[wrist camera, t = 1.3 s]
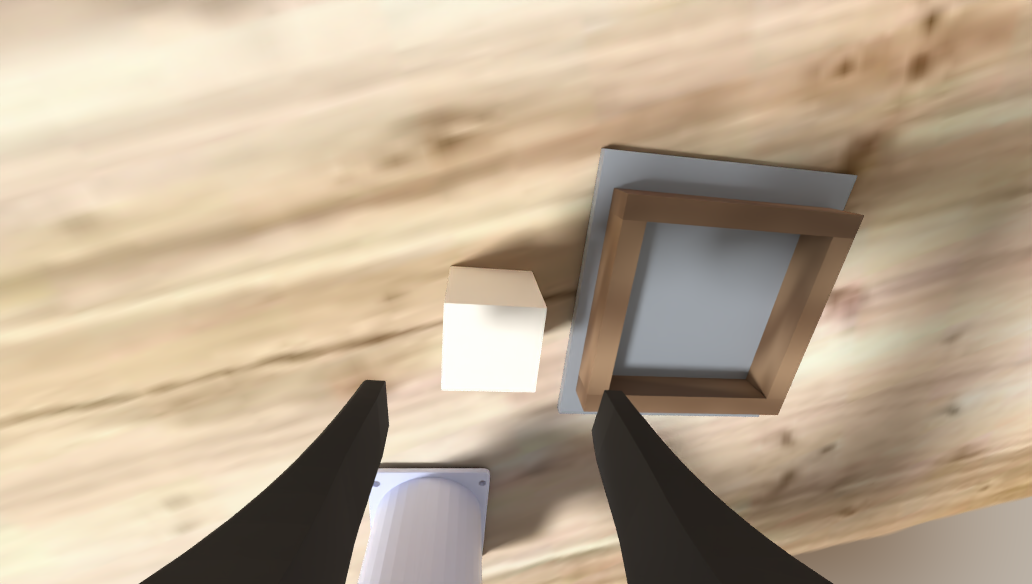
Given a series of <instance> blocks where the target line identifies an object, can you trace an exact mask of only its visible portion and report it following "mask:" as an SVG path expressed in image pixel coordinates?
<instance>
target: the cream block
mask: <svg viewBox="0 0 1032 584" xmlns="http://www.w3.org/2000/svg"><path fill="white" fill-rule="evenodd" d="M546 312H547V307H546V304H545V302H544V299H543V297H542V294H541V292H540V290H539V287H538V285H537V282H536V280H535V277H534V275H533V272H532V271H523V270H507V269H491V268H475V267H459V266H450V271H449V277H448V283H447V289H446V294H445V300H444V318H443V347H442V376H441V390H454V391H499V392H535V390H536V383H537V376H538V369H539V362H540V354H541V347H542V340H543V333H544V326H545V319H546Z"/></svg>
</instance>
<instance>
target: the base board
mask: <svg viewBox="0 0 1032 584" xmlns="http://www.w3.org/2000/svg"><path fill="white" fill-rule="evenodd" d="M856 178H857V175H849V174H840V173H831V172H821V171H812V170H802V169H793V168H784V167H774V166H765V165H755V164H746V163H737V162H727V161H718V160H708V159H699V158H690V157H680V156H671V155H661V154H652V153H643V152H633V151H624V150H614V149H605V148H602V149H601V154H600V160H599V166H598V172H597V178H596V184H595V190H594V195H593V201H592V207H591V213H590V219H589V225H588V230H587V236H586V242H585V248H584V254H583V260H582V266H581V271H580V277H579V283H578V289H577V295H576V301H575V307H574V312H573V318H572V324H571V330H570V336H569V342H568V347H567V353H566V359H565V365H564V371H563V377H562V383H561V388H560V394H559V400H558V406H557V408H558V412H559V413H562V414H597V412H584V411H583V408H582V406H581V403H580V400H579V398H578V395H577V393H576V386H577V380H578V375H579V370H580V365H581V359H582V354H583V349H584V343H585V338H586V333H587V327H588V322H589V317H590V312H591V306H592V301H593V296H594V290H595V285H596V280H597V274H598V269H599V264H600V259H601V253H602V248H603V243H604V237H605V232H606V227H607V221H608V216H609V211H610V206H611V200H612V195H613V190H614V188H621V189H632V190H642V191H653V192H664V193H674V194H685V195H696V196H707V197H717V198H728V199H739V200H749V201H760V202H771V203H781V204H792V205H803V206H814V207H824V208H833V209H837V210H842V211H843V210H844V207H845V205H846V203H847V200H848V198H849V195H850V193H851V190H852V188H853V186H854V183H855V181H856ZM800 235H801V234H790V233H778V232H766V231H754V230H742V229H730V228H718V227H705V226H693V225H681V224H669V223H657V222H647V223H646V228H645V232H644V236H643V241H642V245H641V250H640V254H639V258H638V263H637V267H636V272H635V276H634V281H633V285H632V289H631V294H630V298H629V303H628V307H627V311H626V316H625V320H624V325H623V329H622V334H621V338H620V342H619V347H618V351H617V356H616V360H615V364H614V369H613V373H612V375H622V376H655V377H688V378H722V379H746V377H747V375H748V372H749V369H750V367H751V364H752V361H753V359H754V356H755V353H756V351H757V348H758V346H759V343H760V340H761V338H762V335H763V332H764V330H765V327H766V324H767V322H768V319H769V317H770V314H771V311H772V309H773V306H774V303H775V301H776V298H777V295H778V293H779V290H780V287H781V285H782V282H783V280H784V277H785V274H786V272H787V269H788V266H789V264H790V261H791V258H792V256H793V253H794V250H795V248H796V245H797V243H798V240H799V237H800ZM640 414H641V415H681V416H741V417H759V415H750V414H693V413H640Z"/></svg>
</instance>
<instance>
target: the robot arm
mask: <svg viewBox="0 0 1032 584" xmlns="http://www.w3.org/2000/svg"><path fill="white" fill-rule="evenodd" d="M388 427H389V419H388V407H387V394H386V381H376V380H365V381H364V382H363V383H362V384H361V385H360V387H359V388H358V389H357V391H356V392H355V393H354V395H353V396H352V397H351V399H350V400H349V401H348V402H347V404H346V405H345V406H344V407H343V409H342V410H341V411H340V412H339V413H338V415H337V416H336V417H335V418H334V419H333V420H332V422H331V423H330V424H329V425H328V426H327V427H326V429H325V430H324V431H323V432H322V433H321V434H320V435H319V437H318V438H317V439H316V440H315V441H314V442H313V443H312V444H311V445H310V446H309V447H308V448H307V449H306V450H305V451H304V452H303V453H302V454H301V456H300V457H299V458H298V459H297V460H296V461H295V462H294V463H293V464H292V465H291V466H290V467H289V468H288V469H286V470H285V471H284V472H283V473H282V474H281V475H280V476H279V477H278V478H277V479H276V480H275V481H274V482H273V483H271V484H270V485H269V486H268V487H267V488H266V489H265V490H264V491H262V492H261V493H260V494H259V495H258V496H257V497H255V498H254V499H253V500H252V501H251V502H250V503H248V504H247V505H246V506H245V507H244V508H242V509H241V510H240V511H239V512H238V513H236V514H235V515H234V516H233V517H231V518H230V519H229V520H228V521H226V522H225V523H224V524H222V525H221V526H220V527H218V528H217V529H216V530H214V531H213V532H212V533H210V534H209V535H208V536H206V537H205V538H204V539H202V540H201V541H200V542H198V543H197V544H196V545H194V546H193V547H192V548H190V549H189V550H188V551H186V552H185V553H183V554H182V555H181V556H179V557H178V558H176V559H175V560H173V561H172V562H170V563H169V564H167V565H166V566H164V567H163V568H162V569H160V570H159V571H157V572H156V573H154V574H153V575H151V576H150V577H148V578H147V579H145V580H144V581H142V582H141V583H139V584H345V582H346V577H347V573H348V569H349V564H350V560H351V556H352V552H353V547H354V543H355V540H356V536H357V533H358V529H359V526H360V523H361V520H362V517H363V514H364V511H365V508H366V505H367V502H368V499H369V505H370V524H371V533H370V537H369V541H368V544H367V548H366V552H365V556H364V560H363V564H362V568H361V572H360V575H359V579H358V583H357V584H482V553H483V543H484V533H485V523H486V513H487V503H488V493H489V483H490V471H489V470H488V469H485V468H379V465H380V462H381V459H382V456H383V451H384V447H385V442H386V437H387V432H388ZM592 436H593V443H594V449H595V455H596V460H597V464H598V468H599V471H600V475H601V478H602V482H603V485H604V489H605V492H606V496H607V499H608V502H609V506H610V509H611V513H612V516H613V519H614V523H615V526H616V530H617V534H618V538H619V542H620V546H621V551H622V557H623V562H624V567H625V572H626V577H627V583H628V584H833V583H831V582H830V581H828V580H827V579H825V578H824V577H822V576H821V575H819V574H818V573H816V572H815V571H813V570H812V569H810V568H809V567H807V566H806V565H804V564H803V563H801V562H800V561H798V560H797V559H795V558H794V557H793V556H791V555H790V554H788V553H787V552H786V551H784V550H783V549H782V548H780V547H779V546H777V545H776V544H775V543H773V542H772V541H771V540H769V539H768V538H767V537H765V536H764V535H763V534H761V533H760V532H759V531H758V530H756V529H755V528H754V527H752V526H751V525H750V524H749V523H747V522H746V521H745V520H744V519H743V518H741V517H740V516H739V515H738V514H737V513H735V512H734V511H733V510H732V509H731V508H729V507H728V506H727V505H726V504H725V503H724V502H723V501H721V500H720V499H719V498H718V497H717V496H716V495H715V494H714V493H713V492H712V491H711V490H709V489H708V488H707V487H706V486H705V485H704V484H703V483H702V482H701V481H700V480H699V479H698V478H697V477H696V476H695V475H694V474H693V473H692V472H691V471H690V470H689V469H688V468H687V467H686V466H685V465H684V464H683V463H682V462H681V461H680V460H679V459H678V457H677V456H676V455H675V454H674V453H673V452H672V451H671V450H670V449H669V448H668V446H667V445H666V444H665V443H664V442H663V441H662V439H661V438H660V437H659V436H658V435H657V434H656V432H655V431H654V430H653V429H652V428H651V426H650V425H649V424H648V423H647V421H646V420H645V419H644V418H643V416H642V415H641V414H640V413H639V411H638V410H637V409H636V408H635V406H634V405H633V404H632V403H631V401H630V400H629V399H628V398H627V396H626V395H625V394H624V393H623V392H622V391H618V390H604V393H603V396H602V399H601V402H600V406H599V409H598V412H597V415H596V419H595V422H594V425H593V428H592ZM482 480H483V481H482ZM375 481H378V482H375Z"/></svg>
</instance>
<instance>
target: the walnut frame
mask: <svg viewBox="0 0 1032 584" xmlns="http://www.w3.org/2000/svg"><path fill="white" fill-rule="evenodd" d="M863 217H864V215H860V214H855V213H851V212H846V211H842V210H837V209H833V208H824V207H814V206H803V205H792V204H781V203H771V202H760V201H749V200H739V199H728V198H717V197H707V196H696V195H685V194H674V193H664V192H653V191H642V190H632V189H621V188H614V190H613V195H612V200H611V206H610V211H609V216H608V221H607V227H606V232H605V237H604V243H603V248H602V253H601V259H600V264H599V269H598V274H597V280H596V285H595V290H594V296H593V301H592V306H591V312H590V317H589V322H588V327H587V333H586V338H585V343H584V349H583V354H582V359H581V365H580V370H579V375H578V380H577V386H576V393H577V395H578V398H579V400H580V403H581V406H582V408H583V411H584V412H598V409H599V406H600V402H601V399H602V396H603V393H604V390H618V391H622V392H623V393H624V394H625V395H626V396H627V398H628V399H629V400H630V401H631V403H632V404H633V405H634V406H635V408H636V409H637V410H638V411H639V413H693V414H750V415H778V414H779V411H780V409H781V407H782V404H783V402H784V400H785V397H786V395H787V393H788V390H789V388H790V386H791V383H792V381H793V379H794V377H795V374H796V372H797V370H798V367H799V365H800V363H801V360H802V358H803V356H804V353H805V351H806V349H807V346H808V344H809V342H810V340H811V337H812V335H813V333H814V330H815V328H816V326H817V323H818V321H819V319H820V316H821V314H822V312H823V309H824V307H825V305H826V303H827V300H828V298H829V296H830V293H831V291H832V289H833V286H834V284H835V282H836V279H837V277H838V275H839V272H840V270H841V268H842V266H843V263H844V261H845V259H846V256H847V254H848V252H849V249H850V247H851V245H852V242H853V240H854V238H855V235H856V233H857V231H858V229H859V226H860V224H861V222H862V219H863ZM647 222H657V223H669V224H681V225H693V226H705V227H718V228H730V229H742V230H754V231H766V232H778V233H790V234H801V235H800V237H799V240H798V243H797V245H796V248H795V250H794V253H793V256H792V258H791V261H790V264H789V266H788V269H787V272H786V274H785V277H784V280H783V282H782V285H781V287H780V290H779V293H778V295H777V298H776V301H775V303H774V306H773V309H772V311H771V314H770V317H769V319H768V322H767V324H766V327H765V330H764V332H763V335H762V338H761V340H760V343H759V346H758V348H757V351H756V353H755V356H754V359H753V361H752V364H751V367H750V369H749V372H748V375H747V377H746V379H722V378H688V377H655V376H622V375H612V373H613V369H614V364H615V360H616V356H617V351H618V347H619V342H620V338H621V334H622V329H623V325H624V320H625V316H626V311H627V307H628V303H629V298H630V294H631V289H632V285H633V281H634V276H635V272H636V267H637V263H638V258H639V254H640V250H641V245H642V241H643V236H644V232H645V228H646V223H647Z"/></svg>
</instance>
